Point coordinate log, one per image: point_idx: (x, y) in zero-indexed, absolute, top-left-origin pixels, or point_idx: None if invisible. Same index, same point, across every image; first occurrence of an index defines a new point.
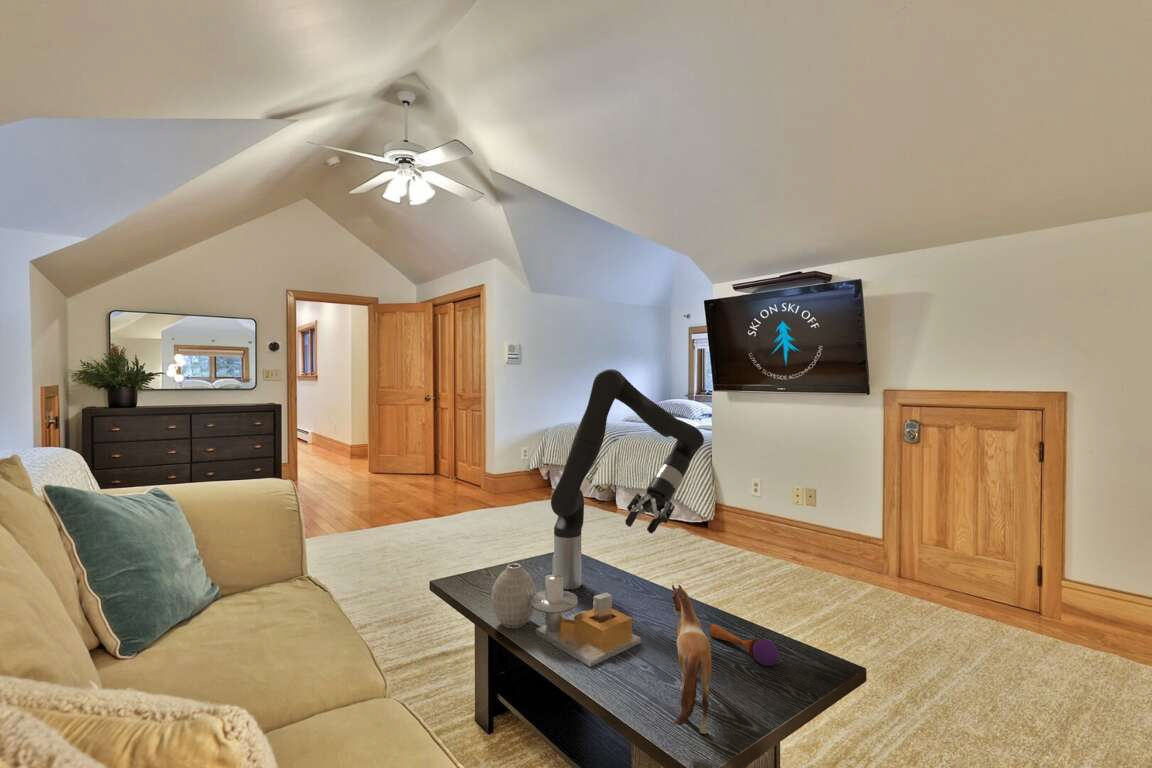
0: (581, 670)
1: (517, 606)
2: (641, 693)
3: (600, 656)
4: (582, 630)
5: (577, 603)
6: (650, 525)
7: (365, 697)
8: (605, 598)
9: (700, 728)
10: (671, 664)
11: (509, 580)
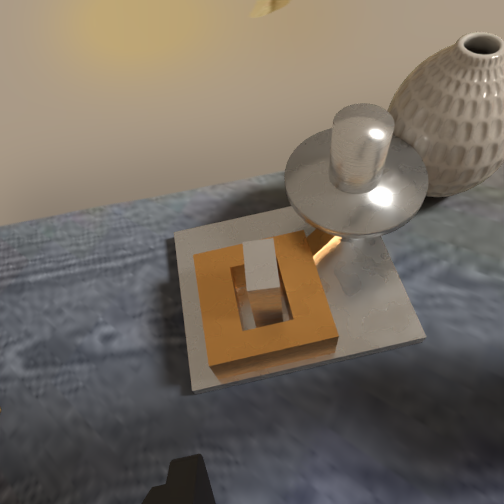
0: (177, 222)
1: None
2: (47, 278)
3: (177, 258)
4: None
5: (313, 225)
6: (169, 499)
7: (278, 4)
8: (245, 266)
9: None
10: (70, 401)
11: (429, 58)
